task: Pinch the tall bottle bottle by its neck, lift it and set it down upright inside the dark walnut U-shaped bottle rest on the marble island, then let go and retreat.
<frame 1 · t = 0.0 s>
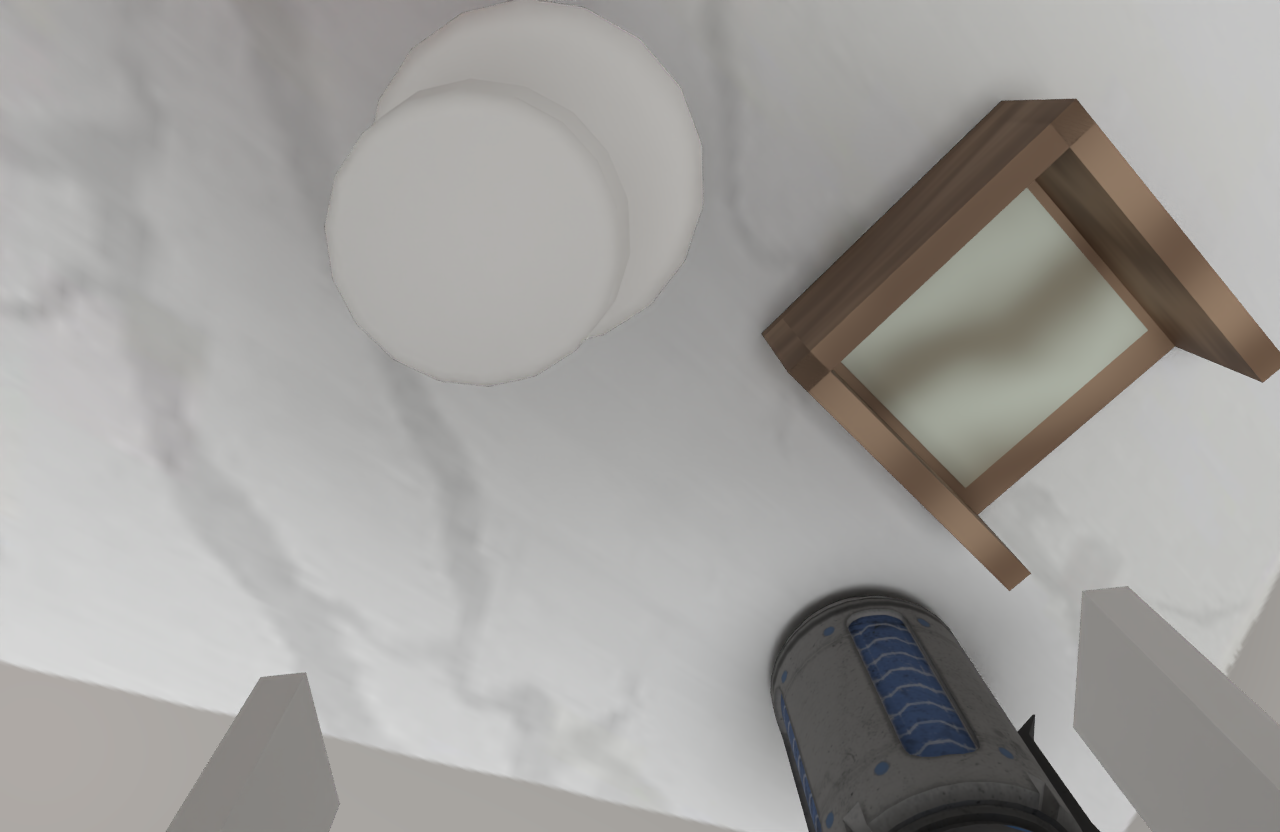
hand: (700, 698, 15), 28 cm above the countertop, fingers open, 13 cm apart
bottle: (570, 149, 39), on the countertop
bottle rest: (976, 329, 42), on the countertop
beverage bottle: (875, 663, 48), on the countertop
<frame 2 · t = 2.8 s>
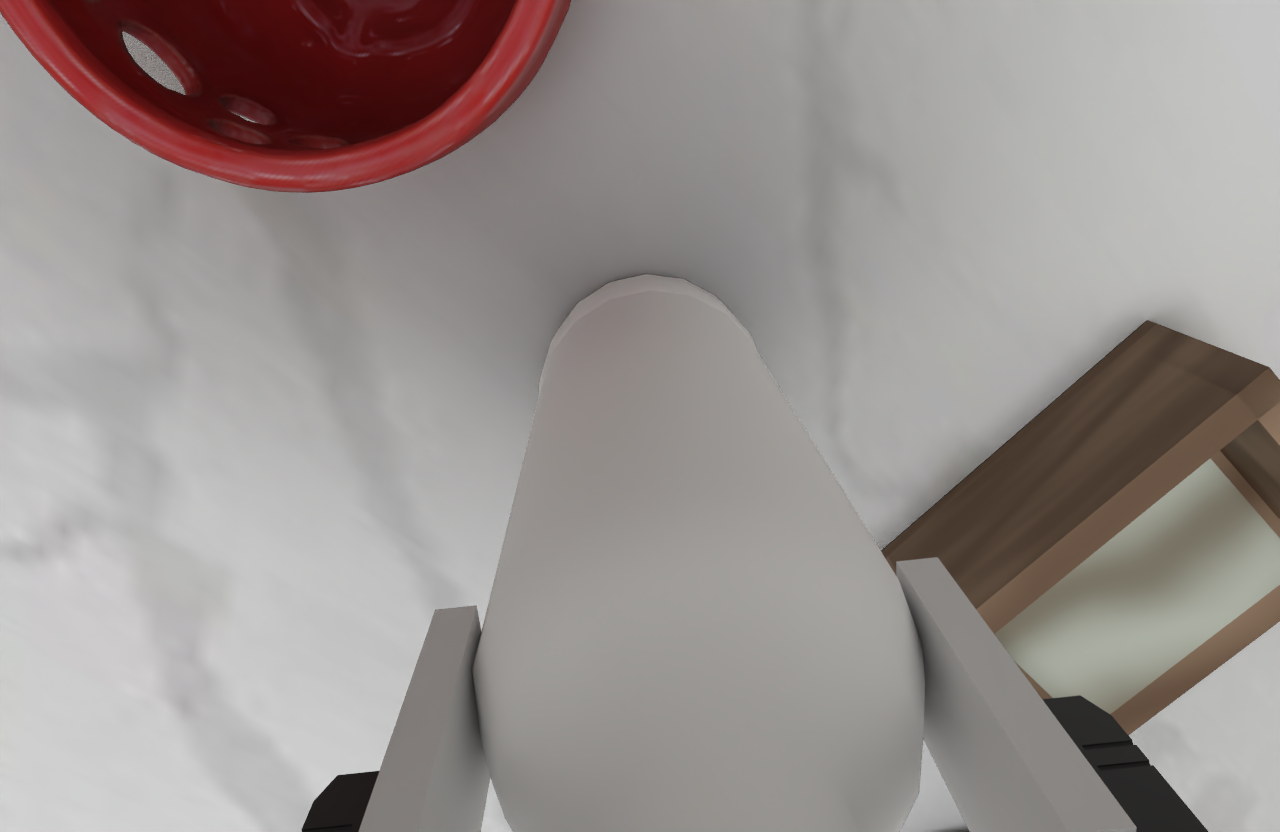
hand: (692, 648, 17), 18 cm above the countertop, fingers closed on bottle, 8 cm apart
bottle: (649, 374, 34), on the countertop, touching gripper
bottle rest: (1105, 561, 37), on the countertop
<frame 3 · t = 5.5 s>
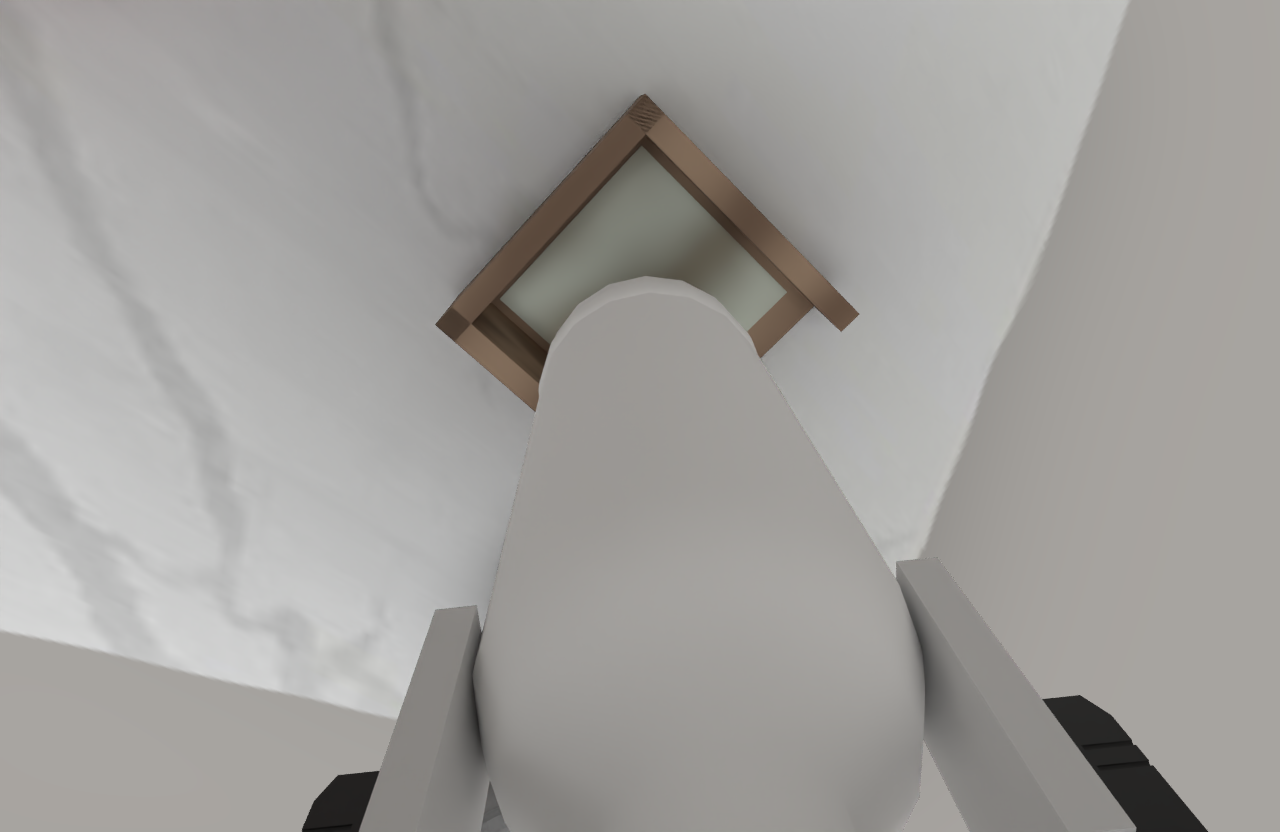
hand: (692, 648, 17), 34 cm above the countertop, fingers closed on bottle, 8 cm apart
bottle: (649, 376, 34), point 16 cm above the countertop, touching gripper
bottle rest: (643, 292, 49), on the countertop
beverage bottle: (592, 588, 55), on the countertop
when the fingers open (20 cm above the countertop, at t = 8.6 s): bottle drops 1 cm, resting on bottle rest.
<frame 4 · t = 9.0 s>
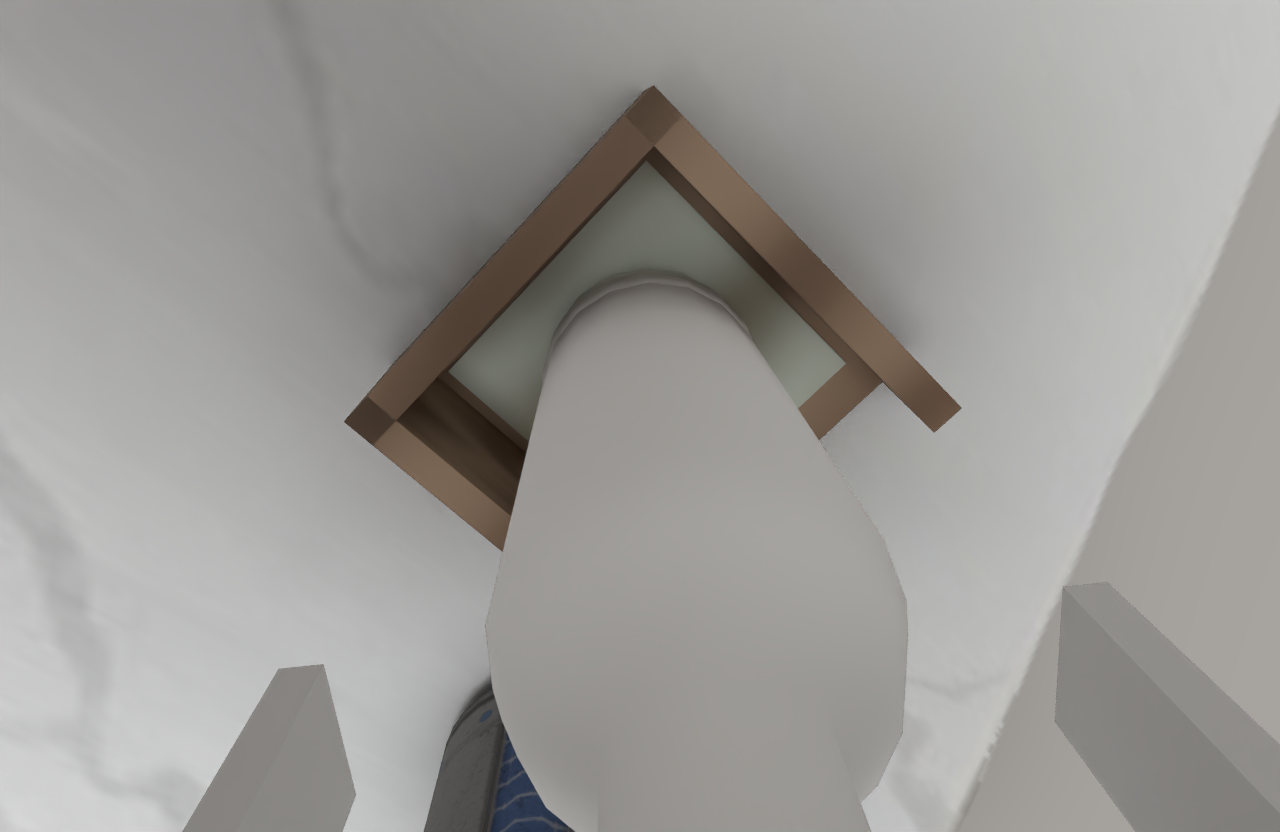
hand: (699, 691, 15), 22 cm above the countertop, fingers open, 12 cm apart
bottle: (649, 365, 35), point 1 cm above the countertop, touching bottle rest
bottle rest: (647, 362, 36), on the countertop
beverage bottle: (577, 743, 42), on the countertop
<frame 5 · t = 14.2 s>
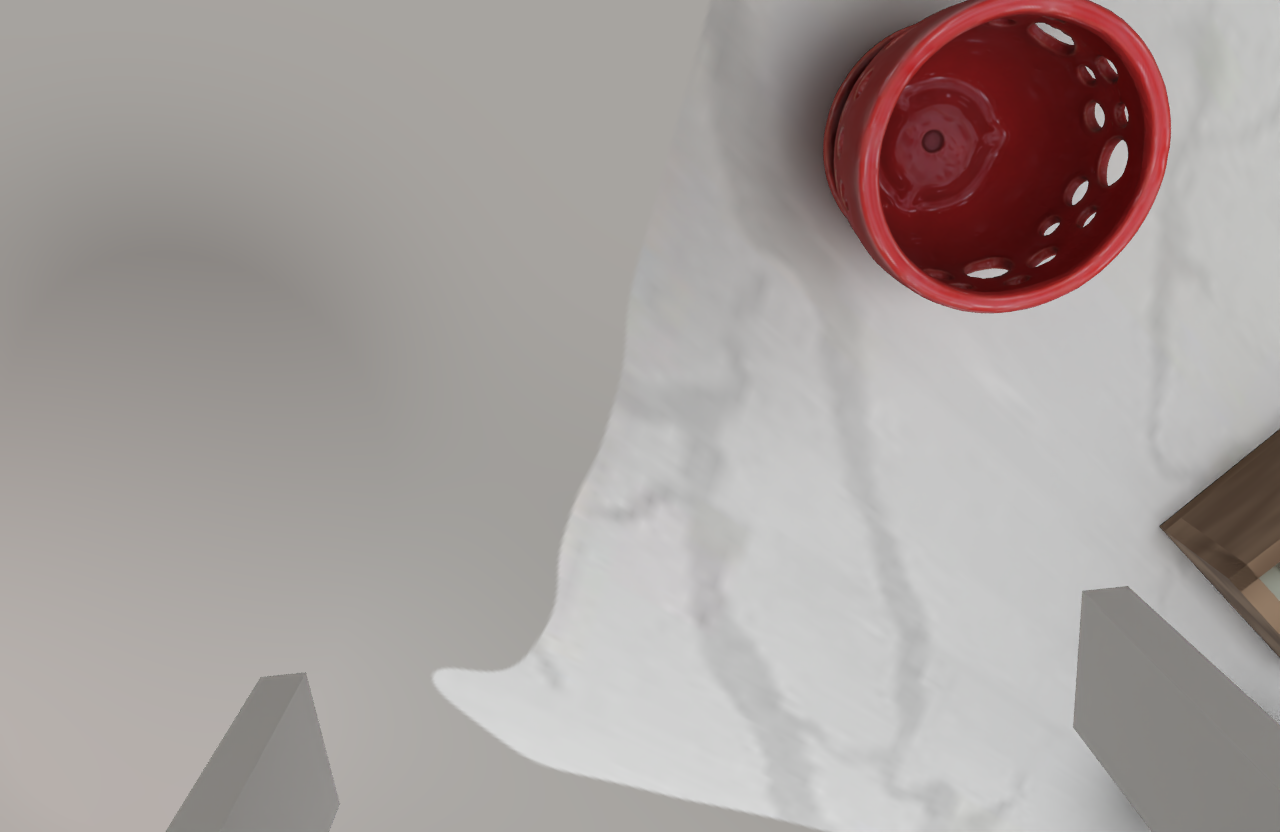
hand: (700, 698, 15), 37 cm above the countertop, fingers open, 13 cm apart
plant pot: (920, 148, 48), on the countertop
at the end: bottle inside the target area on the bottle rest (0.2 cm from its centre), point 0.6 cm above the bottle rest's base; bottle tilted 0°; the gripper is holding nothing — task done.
